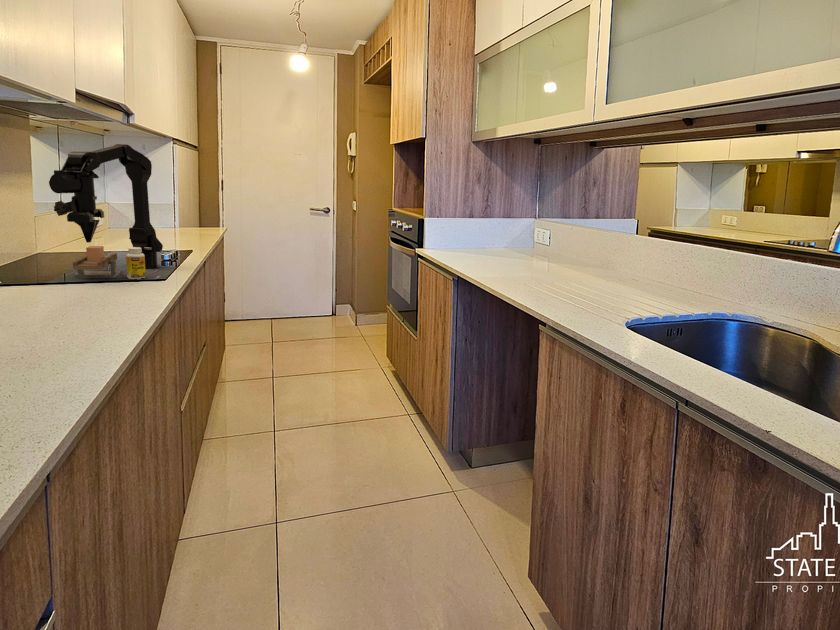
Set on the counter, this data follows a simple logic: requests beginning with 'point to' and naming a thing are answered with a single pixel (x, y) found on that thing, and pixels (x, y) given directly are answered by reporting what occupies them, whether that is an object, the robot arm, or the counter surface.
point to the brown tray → (94, 263)
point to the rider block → (95, 253)
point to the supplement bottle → (135, 263)
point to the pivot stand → (98, 273)
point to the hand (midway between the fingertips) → (88, 242)
